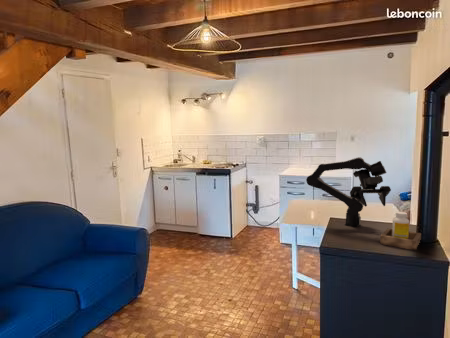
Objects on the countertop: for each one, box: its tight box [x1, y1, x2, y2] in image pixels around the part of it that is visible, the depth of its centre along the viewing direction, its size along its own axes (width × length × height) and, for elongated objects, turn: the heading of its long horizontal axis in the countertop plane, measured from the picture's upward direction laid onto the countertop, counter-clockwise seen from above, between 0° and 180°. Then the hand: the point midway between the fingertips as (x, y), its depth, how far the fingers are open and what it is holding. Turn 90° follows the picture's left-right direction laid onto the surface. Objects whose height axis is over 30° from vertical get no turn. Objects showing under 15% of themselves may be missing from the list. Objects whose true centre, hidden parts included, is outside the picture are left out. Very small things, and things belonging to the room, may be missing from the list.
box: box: [380, 228, 422, 251], centre depth 156 cm, size 14×14×4 cm
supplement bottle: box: [391, 211, 410, 239], centre depth 156 cm, size 7×7×13 cm
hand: (375, 205), depth 169 cm, fingers open, 9 cm apart
